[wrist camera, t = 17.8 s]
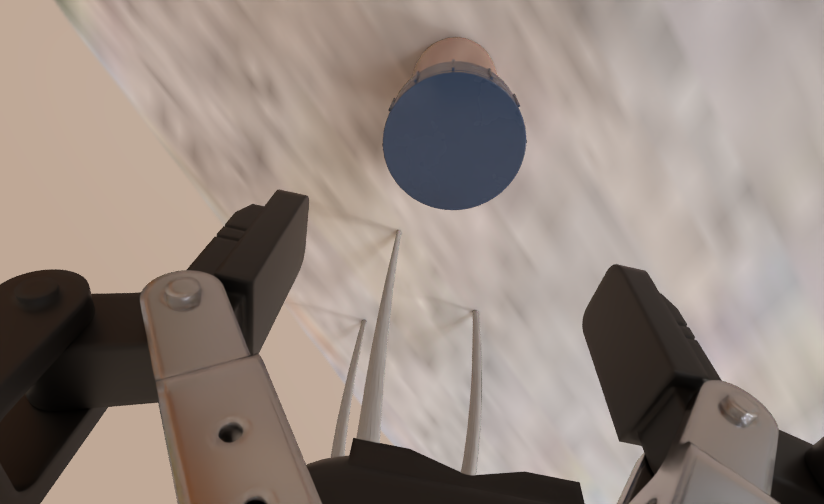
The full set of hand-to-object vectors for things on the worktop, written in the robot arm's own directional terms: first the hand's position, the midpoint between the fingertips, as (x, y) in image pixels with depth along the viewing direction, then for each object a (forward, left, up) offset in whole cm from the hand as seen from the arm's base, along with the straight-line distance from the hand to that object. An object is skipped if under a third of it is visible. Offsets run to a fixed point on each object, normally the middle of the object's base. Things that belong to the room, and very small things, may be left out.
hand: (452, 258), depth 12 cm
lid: (0, 0, -9) cm, 9 cm away
